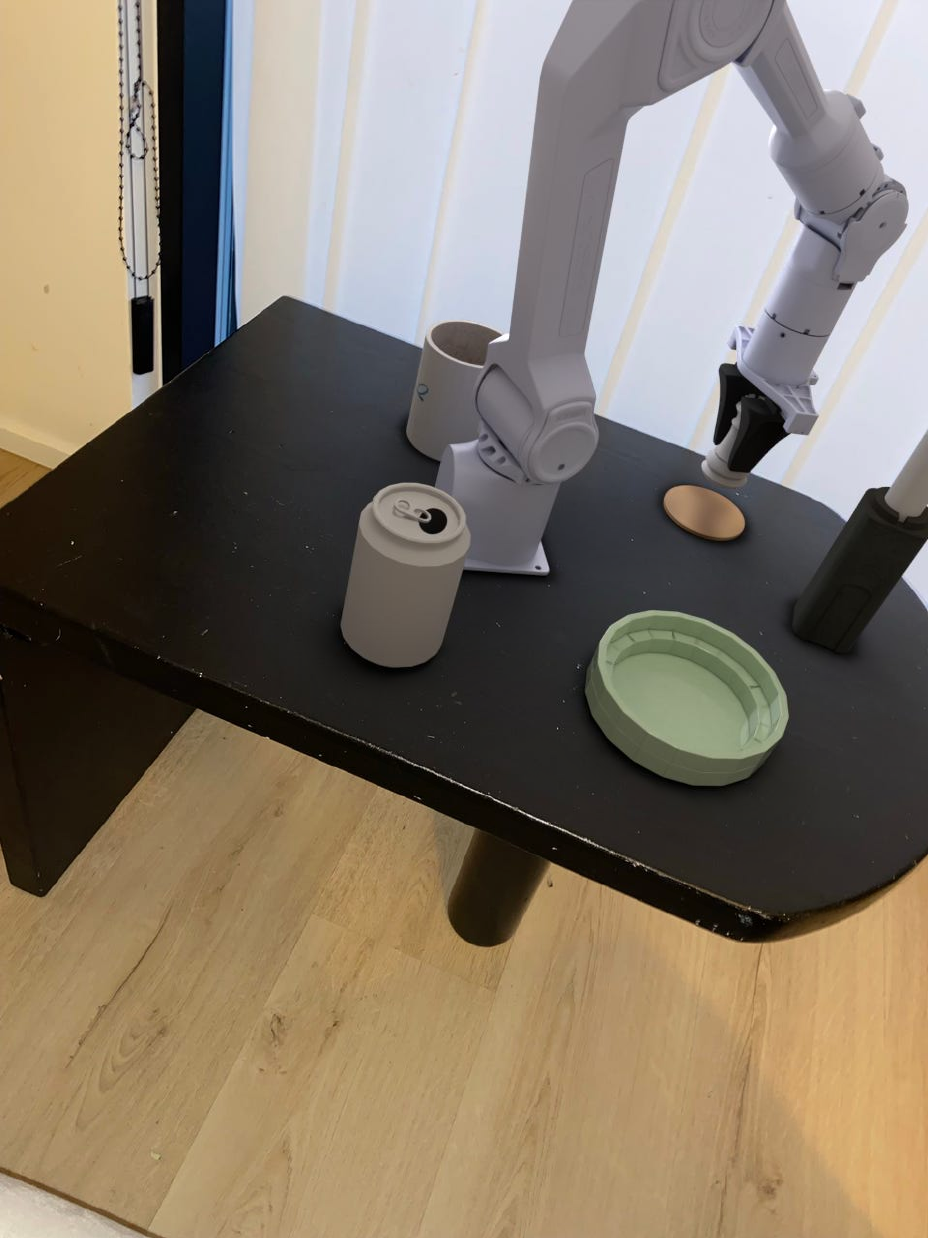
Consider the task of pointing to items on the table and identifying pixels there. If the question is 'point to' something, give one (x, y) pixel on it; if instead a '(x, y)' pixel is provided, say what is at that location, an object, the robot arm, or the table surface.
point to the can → (404, 574)
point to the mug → (448, 385)
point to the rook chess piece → (725, 458)
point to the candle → (867, 558)
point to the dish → (685, 698)
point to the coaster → (704, 513)
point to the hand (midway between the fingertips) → (731, 457)
